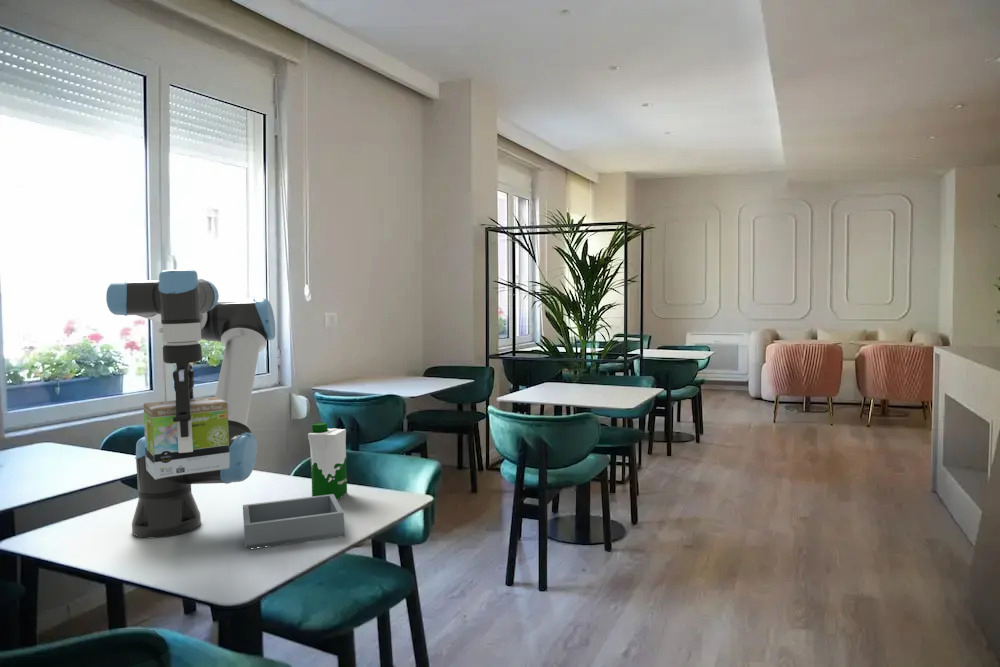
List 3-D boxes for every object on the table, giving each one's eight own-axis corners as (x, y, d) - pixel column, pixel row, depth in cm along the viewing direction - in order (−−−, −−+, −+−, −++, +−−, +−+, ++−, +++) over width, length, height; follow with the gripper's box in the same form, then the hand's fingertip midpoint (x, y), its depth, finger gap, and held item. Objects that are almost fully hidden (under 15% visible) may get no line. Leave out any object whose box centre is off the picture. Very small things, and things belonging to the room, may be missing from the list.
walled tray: (243, 527, 177) (242, 504, 177) (334, 515, 184) (333, 493, 184) (245, 550, 162) (244, 525, 161) (344, 536, 169) (343, 512, 169)
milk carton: (321, 491, 207) (318, 420, 205) (352, 492, 205) (349, 421, 204) (307, 500, 198) (304, 426, 197) (338, 501, 196) (335, 427, 195)
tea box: (154, 481, 149) (150, 408, 148) (145, 471, 157) (141, 402, 156) (231, 468, 157) (228, 400, 156) (219, 460, 165) (215, 394, 164)
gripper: (167, 340, 165) (172, 437, 167) (156, 348, 143) (163, 460, 144) (203, 338, 167) (208, 434, 169) (198, 346, 145) (204, 456, 147)
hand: (187, 446), depth 157 cm, fingers closed on tea box, 11 cm apart
